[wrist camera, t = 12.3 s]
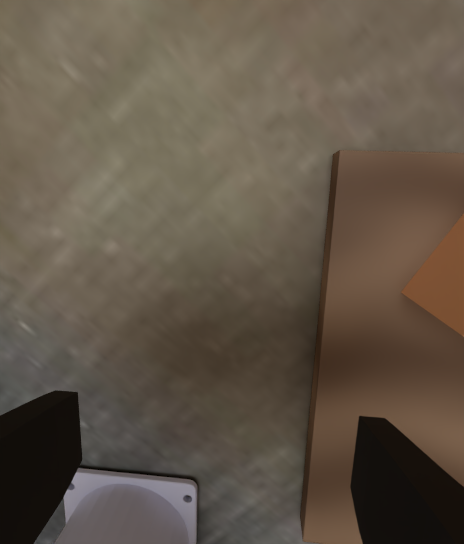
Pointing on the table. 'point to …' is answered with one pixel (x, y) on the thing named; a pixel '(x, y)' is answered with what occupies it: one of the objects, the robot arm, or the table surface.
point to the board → (381, 327)
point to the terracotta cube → (442, 280)
